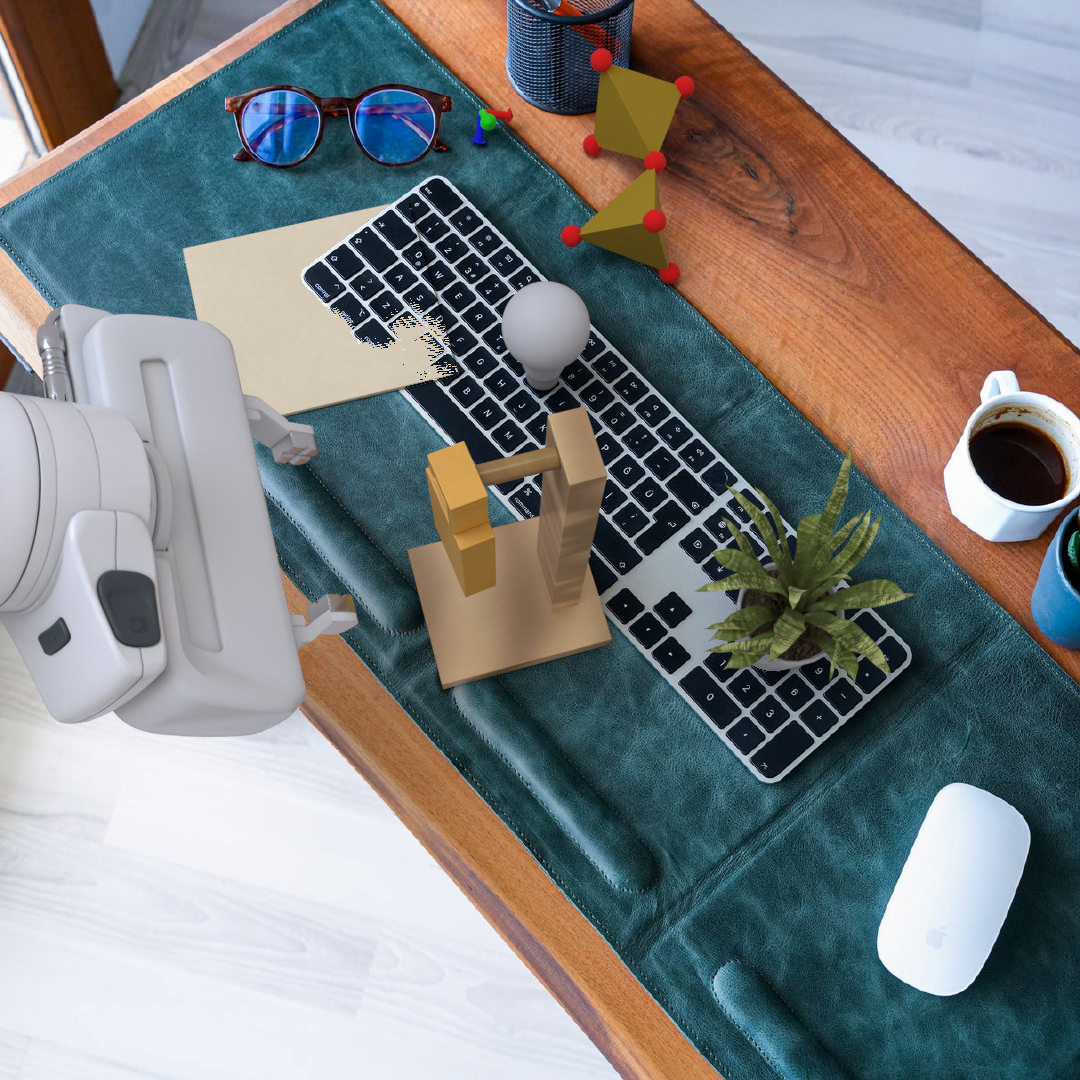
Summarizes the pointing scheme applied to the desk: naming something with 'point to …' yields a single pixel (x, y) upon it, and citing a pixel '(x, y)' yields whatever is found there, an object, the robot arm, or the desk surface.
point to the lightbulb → (545, 330)
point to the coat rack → (525, 568)
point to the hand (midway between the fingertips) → (328, 528)
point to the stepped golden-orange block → (462, 517)
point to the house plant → (800, 591)
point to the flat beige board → (300, 320)
